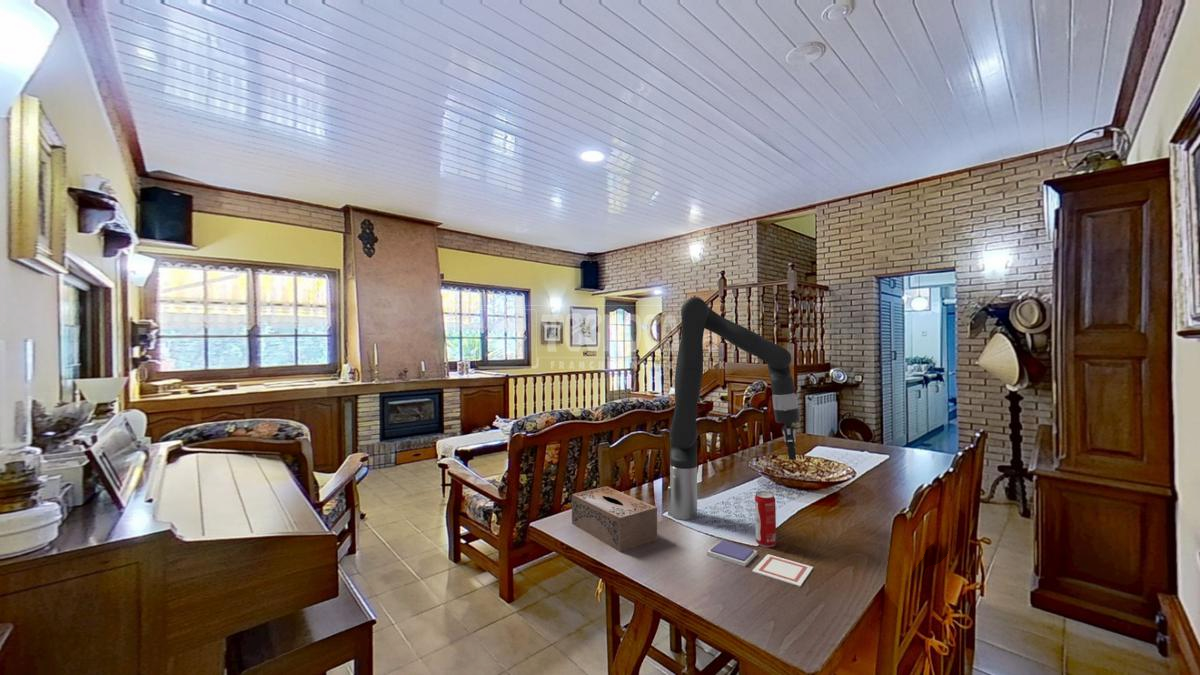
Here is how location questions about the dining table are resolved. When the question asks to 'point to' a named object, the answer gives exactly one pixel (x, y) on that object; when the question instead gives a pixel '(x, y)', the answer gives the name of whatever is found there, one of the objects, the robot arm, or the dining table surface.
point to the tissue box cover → (614, 517)
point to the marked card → (783, 570)
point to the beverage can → (765, 518)
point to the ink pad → (732, 553)
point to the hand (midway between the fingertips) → (792, 456)
